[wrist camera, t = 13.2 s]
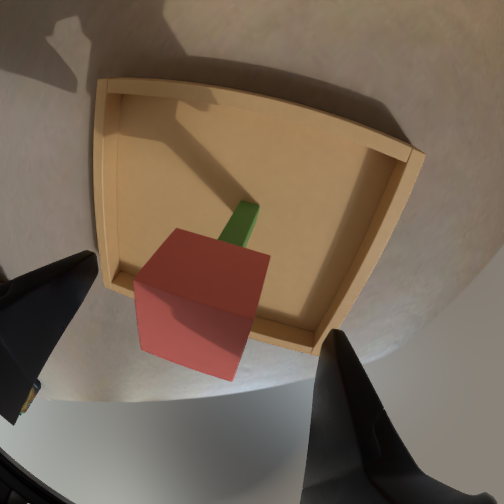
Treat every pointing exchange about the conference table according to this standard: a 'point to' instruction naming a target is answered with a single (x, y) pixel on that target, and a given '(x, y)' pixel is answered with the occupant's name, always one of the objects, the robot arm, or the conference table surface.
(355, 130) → the tray
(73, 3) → the conference table surface
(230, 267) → the cube with green stem
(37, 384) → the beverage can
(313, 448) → the robot arm
